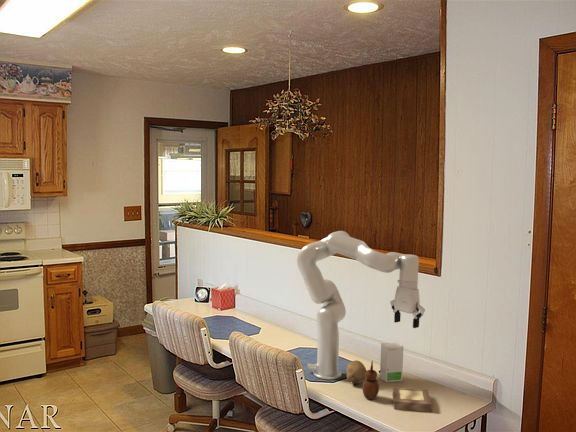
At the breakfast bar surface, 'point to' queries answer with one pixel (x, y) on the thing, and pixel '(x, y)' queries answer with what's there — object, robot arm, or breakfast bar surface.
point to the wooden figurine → (370, 384)
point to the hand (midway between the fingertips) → (406, 324)
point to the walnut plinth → (412, 399)
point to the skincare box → (391, 362)
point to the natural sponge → (355, 371)
